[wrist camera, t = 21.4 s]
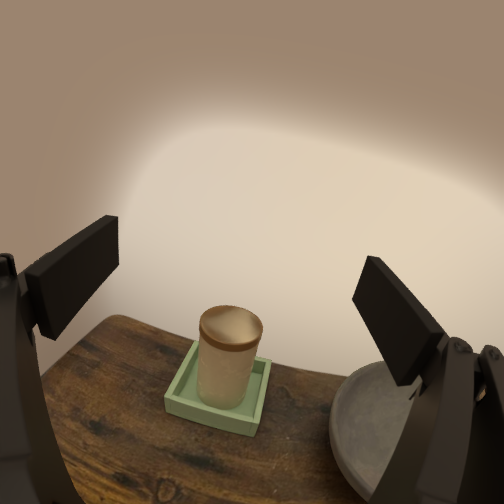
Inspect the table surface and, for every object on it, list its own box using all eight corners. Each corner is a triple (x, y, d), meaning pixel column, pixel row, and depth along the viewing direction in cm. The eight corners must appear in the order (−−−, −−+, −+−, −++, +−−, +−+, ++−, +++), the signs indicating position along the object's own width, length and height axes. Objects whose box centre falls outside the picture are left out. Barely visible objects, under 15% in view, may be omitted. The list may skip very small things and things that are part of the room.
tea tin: (188, 401, 28) (190, 333, 24) (204, 367, 34) (210, 299, 29) (240, 416, 27) (257, 351, 23) (250, 379, 33) (266, 313, 29)
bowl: (464, 500, 13) (508, 469, 10) (311, 544, 13) (349, 533, 10) (423, 393, 33) (449, 356, 30) (302, 394, 32) (321, 353, 29)
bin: (165, 412, 27) (163, 396, 25) (194, 357, 36) (195, 340, 35) (253, 437, 26) (259, 423, 24) (266, 376, 35) (271, 359, 34)
